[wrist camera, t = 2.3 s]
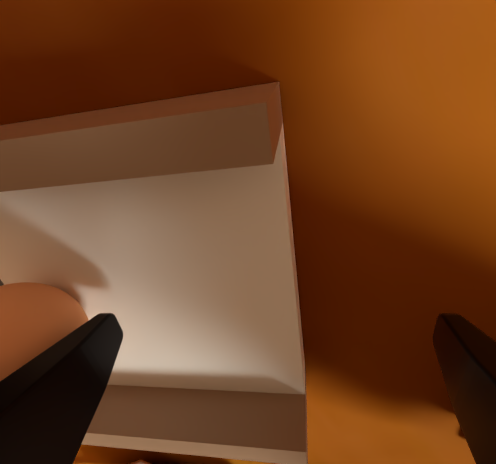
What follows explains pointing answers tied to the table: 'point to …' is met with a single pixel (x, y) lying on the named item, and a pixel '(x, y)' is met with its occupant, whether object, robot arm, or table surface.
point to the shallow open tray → (171, 265)
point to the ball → (33, 321)
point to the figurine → (140, 462)
